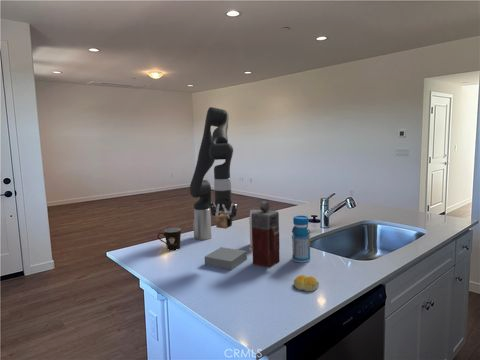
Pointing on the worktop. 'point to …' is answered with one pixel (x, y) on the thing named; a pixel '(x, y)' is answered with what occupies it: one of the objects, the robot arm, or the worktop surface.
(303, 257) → the beverage bottle
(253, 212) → the milk carton
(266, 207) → the red rectangular canister
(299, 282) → the bread roll
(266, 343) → the worktop surface
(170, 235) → the coffee mug
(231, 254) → the gray square block
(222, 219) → the walnut cube
